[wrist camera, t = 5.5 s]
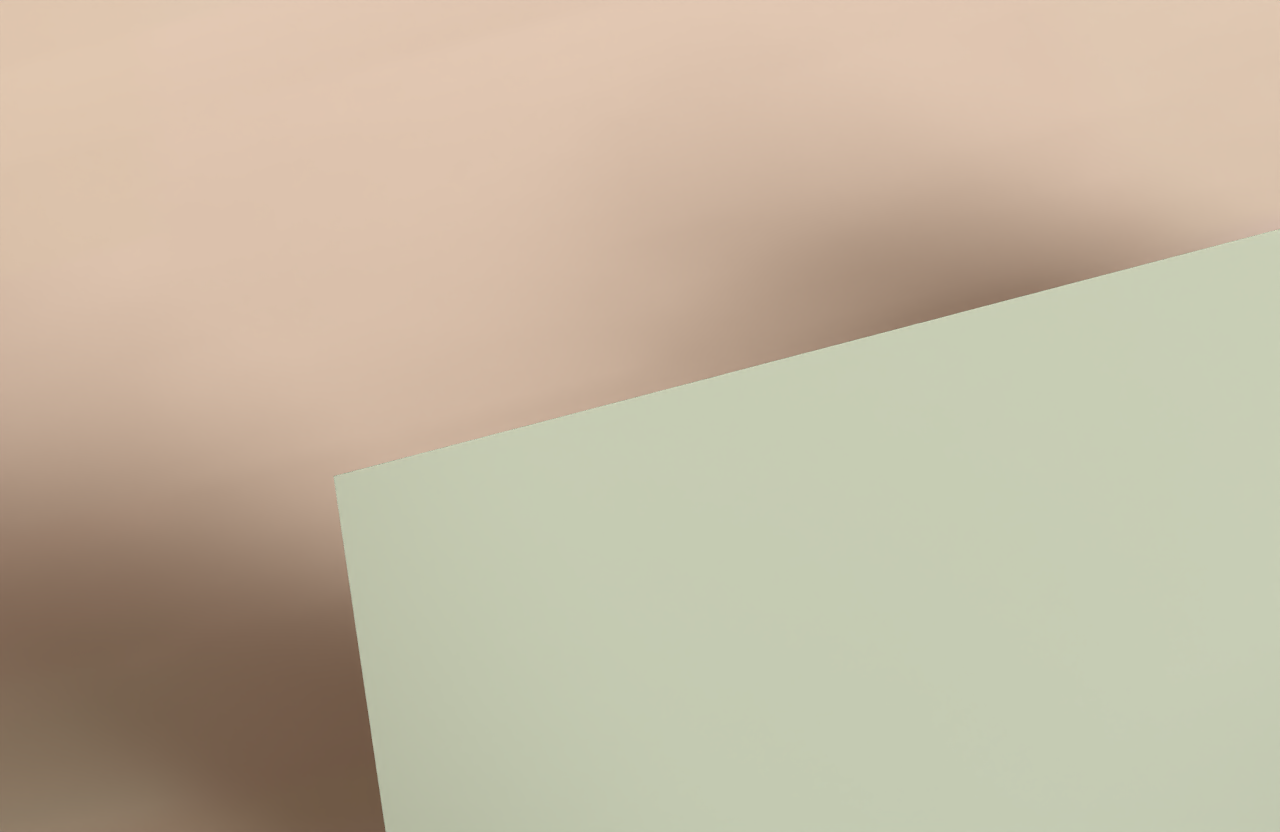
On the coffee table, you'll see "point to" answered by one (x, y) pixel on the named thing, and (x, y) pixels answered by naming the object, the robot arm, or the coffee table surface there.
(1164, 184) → the coffee table surface
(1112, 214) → the coffee table surface
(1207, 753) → the sage block
